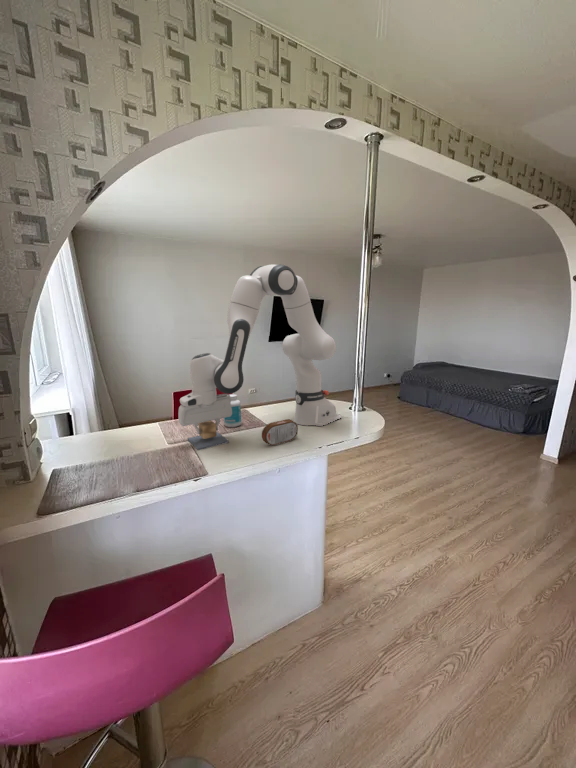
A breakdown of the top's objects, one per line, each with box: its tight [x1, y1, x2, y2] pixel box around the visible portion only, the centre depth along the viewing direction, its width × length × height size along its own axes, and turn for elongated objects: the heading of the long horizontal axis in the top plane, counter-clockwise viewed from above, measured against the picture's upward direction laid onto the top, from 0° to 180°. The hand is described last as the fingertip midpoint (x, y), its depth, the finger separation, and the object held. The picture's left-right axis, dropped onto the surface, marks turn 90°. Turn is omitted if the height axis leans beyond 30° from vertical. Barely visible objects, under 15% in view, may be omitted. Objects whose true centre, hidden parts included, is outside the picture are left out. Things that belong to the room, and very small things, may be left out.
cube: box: [198, 420, 217, 439], centre depth 127 cm, size 5×5×5 cm
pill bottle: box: [223, 393, 243, 428], centre depth 145 cm, size 8×7×14 cm
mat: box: [187, 431, 230, 451], centre depth 128 cm, size 12×12×1 cm
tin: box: [261, 418, 299, 446], centre depth 124 cm, size 15×3×8 cm, turn 124°
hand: (207, 431), depth 127 cm, fingers closed on cube, 5 cm apart
